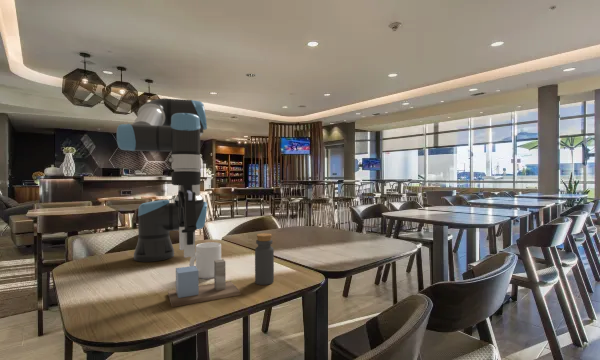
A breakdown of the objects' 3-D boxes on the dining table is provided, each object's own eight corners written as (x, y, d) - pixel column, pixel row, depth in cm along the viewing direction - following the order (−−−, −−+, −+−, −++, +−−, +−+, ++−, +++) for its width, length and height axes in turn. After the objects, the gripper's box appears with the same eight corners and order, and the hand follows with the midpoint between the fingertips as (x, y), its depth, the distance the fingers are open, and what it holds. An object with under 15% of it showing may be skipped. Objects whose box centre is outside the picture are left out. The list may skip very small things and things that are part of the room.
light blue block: (176, 291, 89) (175, 268, 89) (195, 288, 92) (195, 265, 92) (178, 298, 85) (178, 273, 85) (198, 294, 87) (198, 270, 87)
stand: (168, 294, 91) (167, 262, 91) (230, 284, 99) (230, 255, 99) (171, 307, 82) (171, 272, 82) (240, 294, 90) (240, 262, 90)
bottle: (265, 277, 105) (265, 232, 105) (277, 281, 101) (277, 234, 101) (251, 281, 101) (251, 234, 101) (262, 286, 97) (262, 237, 97)
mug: (198, 284, 99) (198, 250, 99) (181, 279, 104) (180, 247, 104) (226, 273, 110) (226, 243, 110) (209, 270, 114) (209, 241, 114)
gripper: (167, 171, 96) (168, 246, 96) (176, 170, 77) (177, 264, 77) (193, 171, 99) (194, 244, 100) (208, 170, 80) (208, 260, 80)
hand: (186, 252), depth 88 cm, fingers open, 9 cm apart
